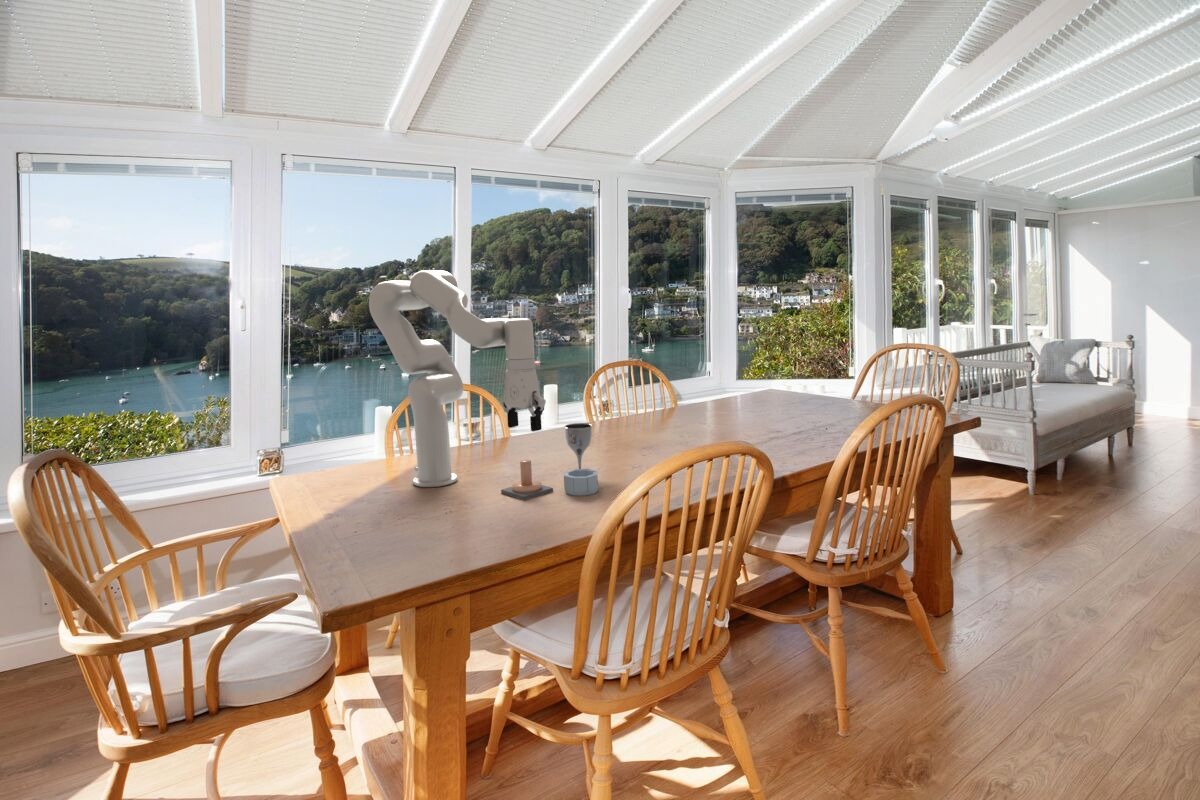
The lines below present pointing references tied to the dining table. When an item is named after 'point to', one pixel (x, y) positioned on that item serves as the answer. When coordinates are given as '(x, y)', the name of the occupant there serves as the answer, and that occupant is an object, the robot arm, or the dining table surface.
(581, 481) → the bowl
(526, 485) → the lid
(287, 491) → the dining table surface
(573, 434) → the wine glass
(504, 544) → the dining table surface
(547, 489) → the mat
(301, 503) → the dining table surface
